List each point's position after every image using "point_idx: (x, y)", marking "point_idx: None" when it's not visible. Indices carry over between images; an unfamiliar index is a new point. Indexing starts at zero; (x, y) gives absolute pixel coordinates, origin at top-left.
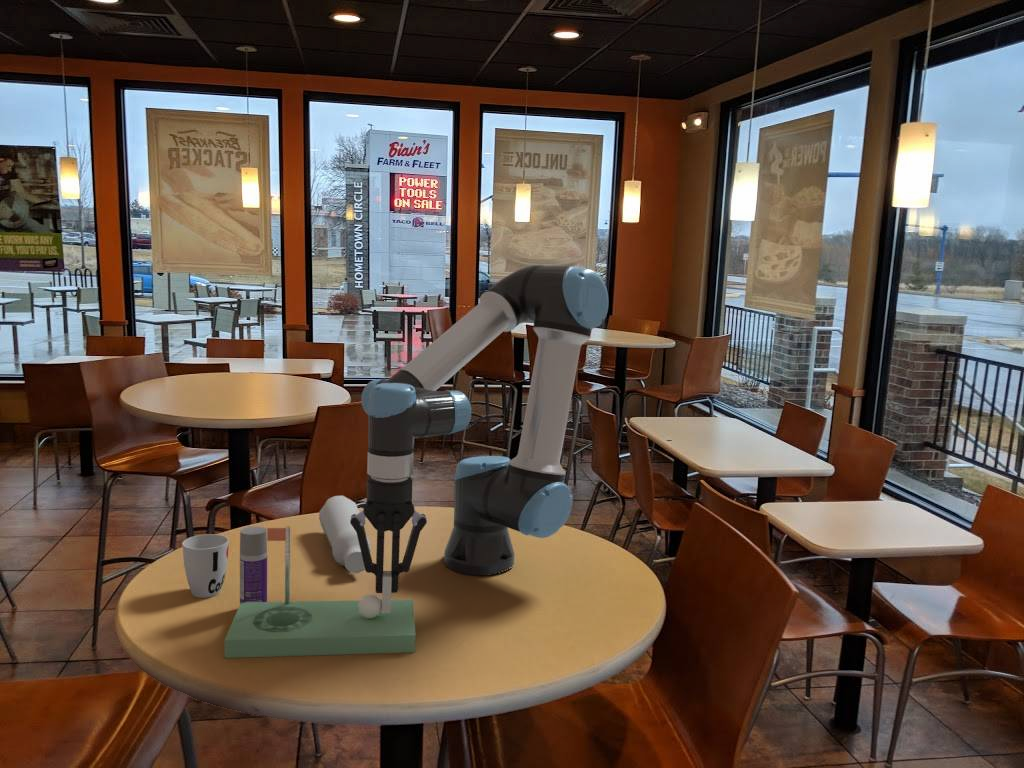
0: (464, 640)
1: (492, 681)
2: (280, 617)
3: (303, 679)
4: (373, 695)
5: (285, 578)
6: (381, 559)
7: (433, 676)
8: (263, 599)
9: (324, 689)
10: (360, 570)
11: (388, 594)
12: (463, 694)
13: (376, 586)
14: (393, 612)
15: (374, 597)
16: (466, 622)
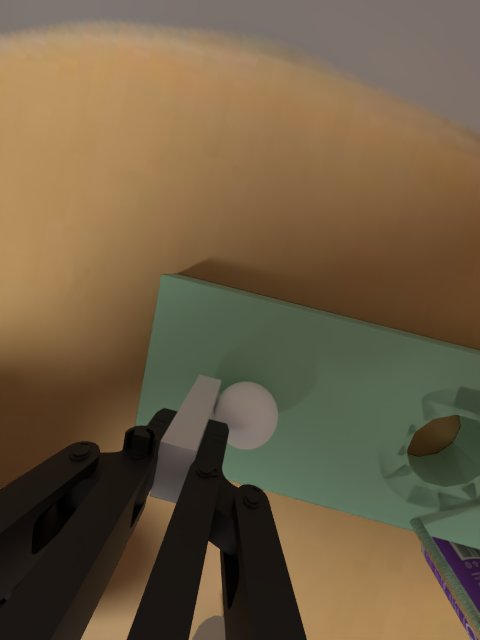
0: (67, 293)
1: (44, 95)
2: (435, 476)
3: (433, 228)
4: (306, 108)
5: (473, 603)
6: (178, 534)
7: (161, 156)
8: (455, 561)
9: (402, 169)
10: (210, 621)
11: (192, 403)
12: (116, 53)
13: (224, 438)
14: None
15: (233, 420)
16: (49, 366)
